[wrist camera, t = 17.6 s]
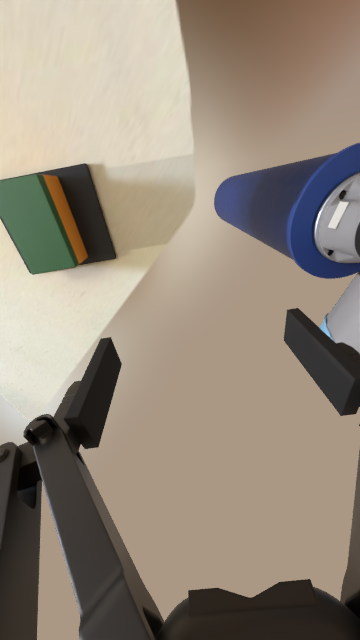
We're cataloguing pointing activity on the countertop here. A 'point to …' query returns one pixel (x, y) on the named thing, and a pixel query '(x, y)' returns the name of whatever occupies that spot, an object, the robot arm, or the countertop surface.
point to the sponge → (41, 223)
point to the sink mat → (82, 212)
